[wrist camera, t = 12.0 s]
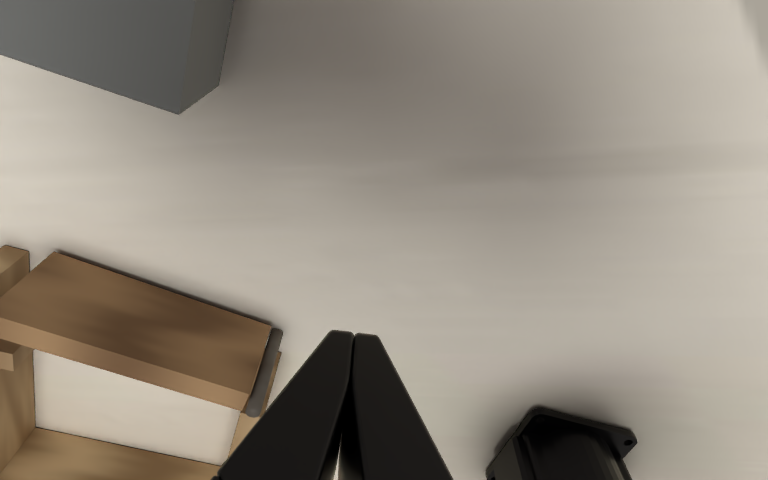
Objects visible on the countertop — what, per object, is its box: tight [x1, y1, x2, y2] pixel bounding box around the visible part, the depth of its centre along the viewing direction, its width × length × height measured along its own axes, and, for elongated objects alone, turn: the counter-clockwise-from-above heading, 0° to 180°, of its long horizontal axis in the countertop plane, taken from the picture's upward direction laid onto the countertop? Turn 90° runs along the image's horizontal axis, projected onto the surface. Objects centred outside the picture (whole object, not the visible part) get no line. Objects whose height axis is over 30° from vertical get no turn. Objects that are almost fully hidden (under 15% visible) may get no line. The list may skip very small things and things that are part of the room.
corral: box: [0, 245, 283, 480], centre depth 23 cm, size 13×14×5 cm
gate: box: [0, 252, 271, 411], centre depth 20 cm, size 10×1×4 cm, turn 65°
